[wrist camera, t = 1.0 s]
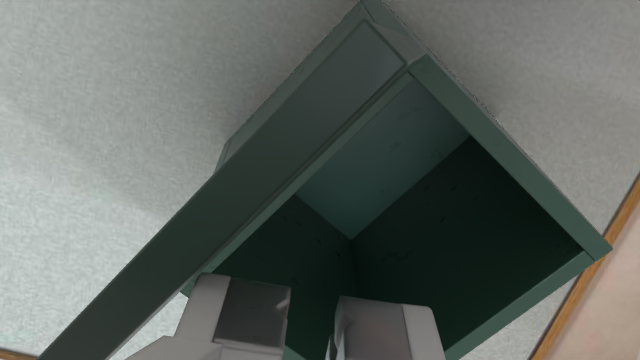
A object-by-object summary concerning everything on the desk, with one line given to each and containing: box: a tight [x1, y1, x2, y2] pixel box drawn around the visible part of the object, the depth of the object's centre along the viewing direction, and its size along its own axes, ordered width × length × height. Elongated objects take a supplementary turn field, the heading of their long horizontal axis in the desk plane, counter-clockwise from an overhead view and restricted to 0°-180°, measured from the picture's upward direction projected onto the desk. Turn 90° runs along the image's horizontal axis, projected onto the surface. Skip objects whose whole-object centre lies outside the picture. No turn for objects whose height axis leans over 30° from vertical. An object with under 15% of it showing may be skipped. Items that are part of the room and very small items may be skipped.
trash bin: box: [180, 0, 613, 360], centre depth 34 cm, size 14×16×18 cm
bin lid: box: [36, 19, 426, 360], centre depth 16 cm, size 15×16×1 cm
